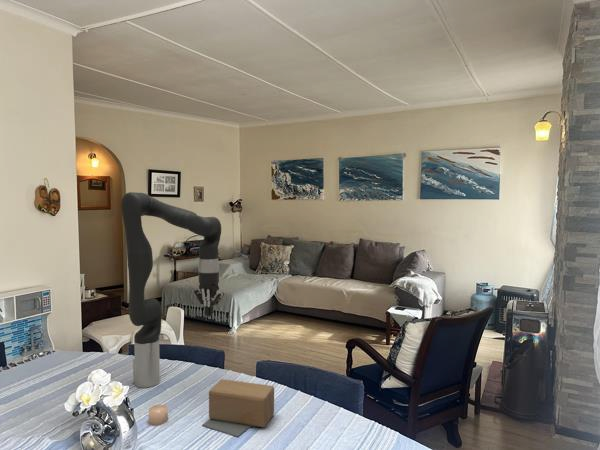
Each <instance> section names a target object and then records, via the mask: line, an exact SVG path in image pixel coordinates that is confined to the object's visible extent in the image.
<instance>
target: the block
mask: <svg viewBox="0 0 600 450" xmlns="http://www.w3.org/2000/svg"><path fill="white" fill-rule="evenodd" d="M274 413H275V386H273V385H268V384H261V383H254V382H253V383H252V382H247V381H246V382H245V381H240V380H239V381H238V380H231V379H224V378H223V379H222V378H221V379H220V380H219V381H218V382H217V383H216V384H215V385H213V387H211V388H210V389H209V391H208V418H209V420H210V419H215V420H221V421H227V422H234V423H240V424H246V425H252V426H251V427H253V426H254V427H259V428H264V427H266V426H267V424H268V423H269V421H270V420H271V418H272V417H273V415H274Z"/></svg>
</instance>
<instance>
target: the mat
mask: <svg viewBox="0 0 600 450" xmlns="http://www.w3.org/2000/svg"><path fill="white" fill-rule="evenodd" d="M201 426H202V427H204V428H206V429H210V430H214V431H217V432H220V433H223V434H226V435H229V436H232V437H235V438H239V437H240V436H241V435H243V434H244V433H245V432H246V431H247V430H249V429H250V428H251V427H253V426H252V425H246V424H240V423H234V422H227V421H221V420H215V419H210V418H209V419H208V420H207V421H205V422H204V423H203V424H202V425H201Z"/></svg>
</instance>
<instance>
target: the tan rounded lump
mask: <svg viewBox="0 0 600 450" xmlns="http://www.w3.org/2000/svg"><path fill="white" fill-rule="evenodd" d="M168 421H169V407H168V405H166V404H156V405H153V406H151V407H149V409H148V424H149V425H151V426H161V425H163V424H166V423H167V422H168Z"/></svg>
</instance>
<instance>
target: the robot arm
mask: <svg viewBox="0 0 600 450" xmlns="http://www.w3.org/2000/svg"><path fill="white" fill-rule="evenodd" d="M120 202H121V203H120V208H121V209H120V211H121V215H122V220H123V226H124V234H125V242H126V243H125V244H126V258H127V259H126V260H127V269H128V284H129V285H128V286H129V287H128V288H129V290H128V291H129V293H128V295H129V296H128V315H129V320H130V321H131V323H132V324H133V326H136V327H141V326H142V327H141V328H140V329H139V330H138V331H137V332H135V333H134V337H133V338H134V340H133V341H134V358H133V360H132V382H133V384H134V385H135V387H138V388H141V389H142V388H144V389H146V388H151V387H154V386H156V385H158V384H159V383H160V381H161V380H160V379H161V378H160V377H161V375H160V374H161V373H160V372H161V370H160V366H161V365H160V334H161V333H162V313H163V312H162V306H161V303H160V301H158V299H156V298H153V297H152V298H147V299H145V289H146V285H147V283H148V280H149V277H150V276H151V273H152V272H153V266H154V259H153V250H152V249H153V248H152V245H151V243H150V242H149V239H148V238H147V236H146V234H145V233H144V232H145V231H144V228H143V223H142V217H143V216H145V217H155V218H159V219H162V220H164V221H165V222H167V223H168V224H170V225H172V226H175V227H178V228H181V229H184V230H188V231H189V232H191V233H192V234H195V235H197V236H201V237H203V241H202V242H201V243H200V244H199V247H198V284H199V285H198V288H197V289H195V290H194V291H193V293H194V295H195V296H196V299H197V300H198V302H199V303H200V305H203V306H204V315H205V317H209V318H210V317H212V316H213V315H214V306H217V305H218V304H219V302H221V300H222V298H223V297H224V295H225V292H221V290H220V287H219V283H220V262H219V261H220V260H219V245H220V241H221V235H222V224H221V221H220V220H219V219H218V218H217V217H215V216H207V217H206V216H205V217H204V216H201V215H198V214H197V213H195V212H194V211H192V210H188V209H185V208H181V207H179V206H174V205H172V204H171V205H170V204H168V203H165V202H162V201H161V200H158V199H156V198H155V197H153V196H150V195H149V194H147V193H144V192H134V191H133V192H132V191H130V192H126V193H125V194H124V195H123V196H122V197H121V201H120Z"/></svg>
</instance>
